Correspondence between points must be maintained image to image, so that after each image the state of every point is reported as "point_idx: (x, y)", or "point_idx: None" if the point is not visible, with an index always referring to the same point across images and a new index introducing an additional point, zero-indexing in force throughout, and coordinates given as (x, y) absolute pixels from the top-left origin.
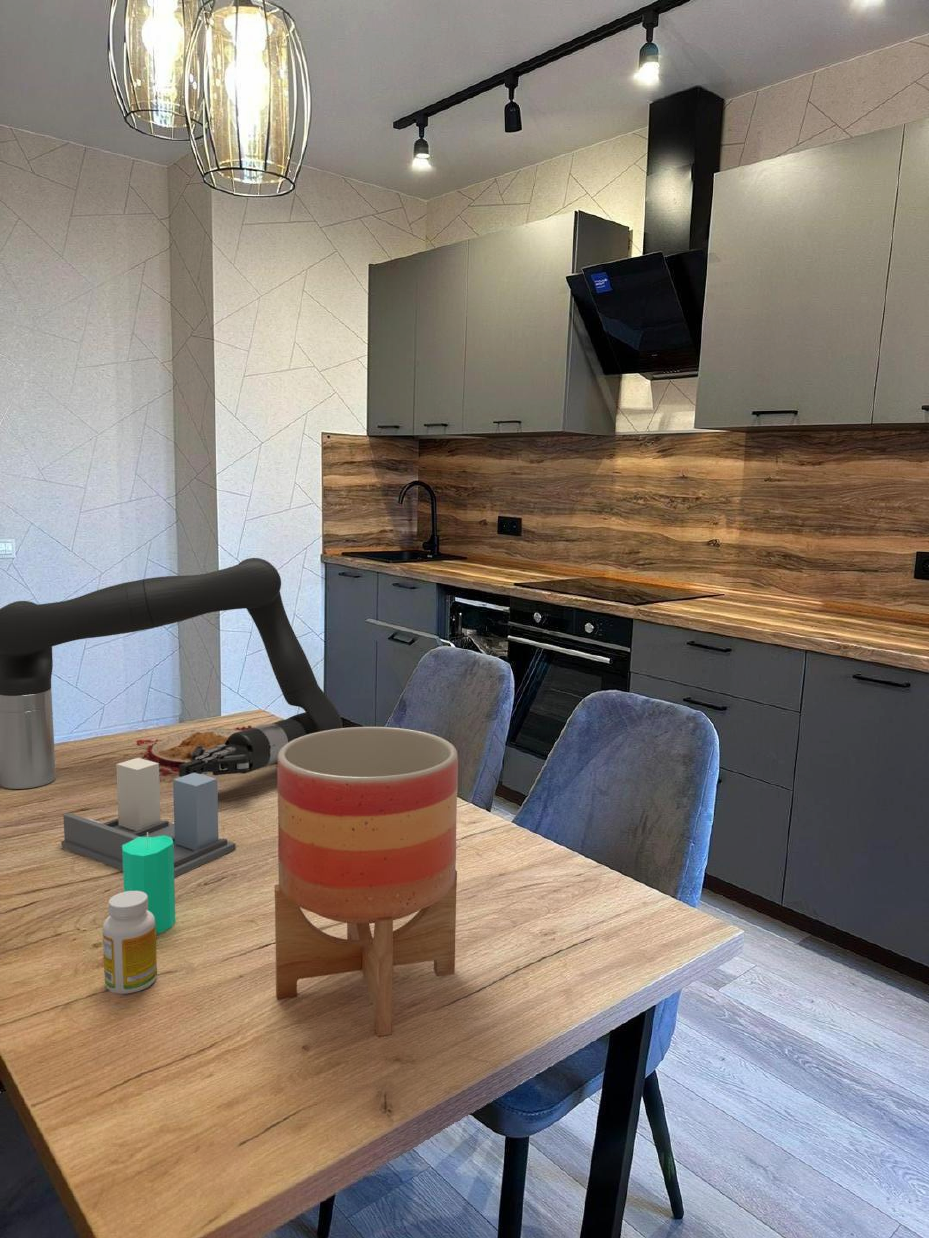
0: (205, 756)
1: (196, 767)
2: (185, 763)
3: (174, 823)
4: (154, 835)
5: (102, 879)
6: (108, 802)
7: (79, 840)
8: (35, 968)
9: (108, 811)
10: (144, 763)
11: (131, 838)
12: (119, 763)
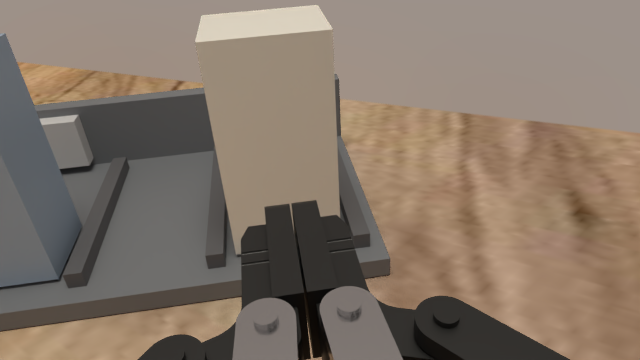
0: (344, 358)
1: (242, 263)
2: (312, 220)
3: (59, 173)
4: (187, 223)
5: None
6: (632, 273)
7: None
8: (37, 74)
9: (527, 246)
10: (243, 28)
11: (86, 100)
12: (317, 8)
